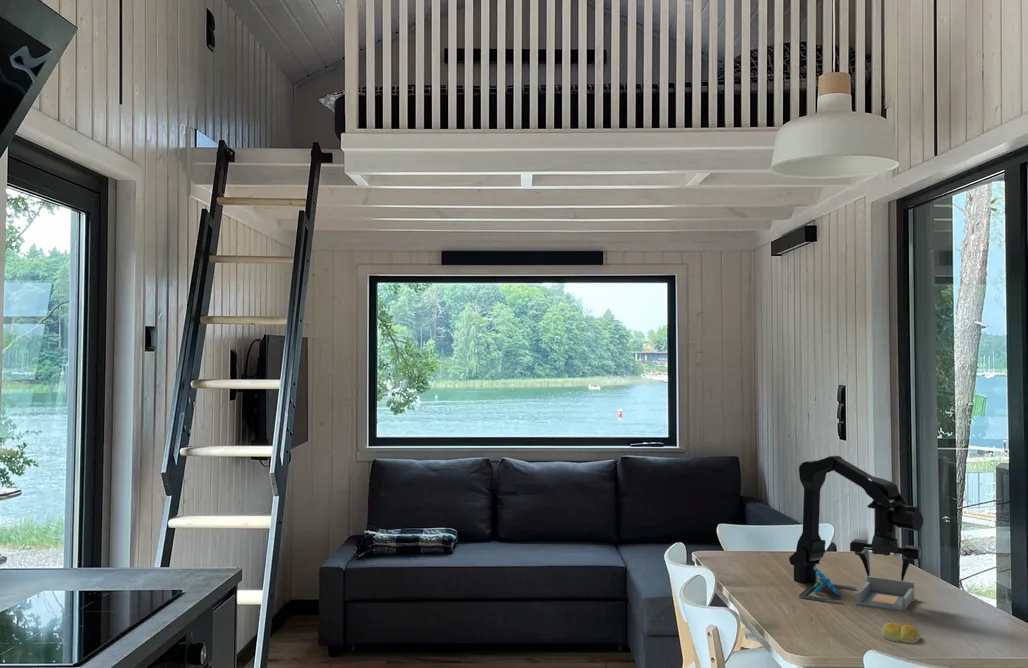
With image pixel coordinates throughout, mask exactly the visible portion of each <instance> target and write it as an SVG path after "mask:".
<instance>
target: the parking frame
mask: <svg viewBox="0 0 1028 668" xmlns="http://www.w3.org/2000/svg"><path fill="white" fill-rule="evenodd" d="M816 583H817V581H815V582H813V583H812V584H811V583H810V584H809V586H808V587H807V588H805V589H804V590H803V591H802V592H801V593H799V595H798V598H799V599H805V600H812V601H818V602H822V603H823V602H825V603H831V604H839V605H844V602H845V601H844V600H839V599H832V598H828V597H827V598H825V597H821V596H812V595H808V594H809V593H810V592H812V591H813V590H814V589H815V587H814V585H815V584H816ZM832 584H833V586H834V587H835V588H836V589H837V588H838V589H843V590H849V591H857V586H850V585H844V584H843V585H842V584H836V583H832ZM819 585H821V583H820V584H819ZM819 585H818V586H819ZM826 587H828V585H827V586H826Z"/></svg>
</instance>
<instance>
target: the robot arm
mask: <svg viewBox="0 0 1028 668" xmlns="http://www.w3.org/2000/svg"><path fill="white" fill-rule="evenodd" d="M831 472H835V473H836V474H837V475H838V474H839V475H840V476H842V477H843V478H845V479H847V480H849V481H851V483H854V484H855V485H857V486H858V487H860V488H862V490H864V492H865V494H866V495H867V496H868V497H870V498H871V499H872V501H871V503H869V504H868V505H866V506H867V508H868V509H873V510H874V511H873V512H874V515H873V516H874V519H873V520H874V523H873V524H874V527H873V528H874V532H873V537H872V541H871V543H868V540H867V539H858V538H854V539H853V540H852V541H851V542H850V543H849V551H850V552H853V553H854V554H855V555H857V556H858V557H859V558H860V560H861V562H862V564H863V566H864V570H865V573H866V575H867V576H871V565H870V554H869V551H871V553H872V554H873V555H882V556H890V555H891V554H898V555H903V556H904V557H903V558H902V565H901V573H900V575H901V576H900V580H901V581H905V577H906V574H907V571H908V569H909V566H910V564H911V563H913V562H915V561H916V560H919V559H920V558H921V557H922V548H921V547H920V546H918V545H911V544H910V545H909V544H906V545H905V546H904V547H900V546H899V541H898V538H896V537H897V535H896V534H897V533H896V532H897V529H896V528H898V529H904V530H911V531H915V532H919V531H921V529H922V527H923V525H924V517H923V514H922V512H921V511H920V509H919V506H914V505H913V506H911V505H908V504H907V502H906V501H905V499H904V497H903V496H902V495H901V493H900V492H899V487H898V485H897V484H896V483H894V481H893V482H892V481H891V480H887V479H884V478H881V477H876V476H873V475H871V474H869V473H868V472H866V471H864V470H862V469H860V468H859V467H857V466H856V465H855V464H852V463H851V462H849V461H847V460H845V459H844V458H843V457H841V456H840V455H829V456H826V457H825V458H822V459H818V460H810V461H809V460H807V461H804V462H802V463H801V464H799V466H798V474H799V475H798V476H799V481H800V483H801V485H802V487H803V507H802V508H803V509H802V510H803V512H802V533H801V535H800V537H799V539H797V540H798V541H797V543H796V550H795V552H794V553H793V554H791V556H790V557H788V561H789V563H790V565H791V566H793V582H797V583H800V584H807V585H811V584H812V583H813V582H815V581H817V582H818V581H819V580H818V579H819V578H818V577H819V575H818V574H817V573H816V572H815V571H814V569H815V568H817V565H819V564H820V561H821V559H822V558H823V557H824V554H825V553H826V552H827V551H826V539H822V538H821V535H820V533H819V531H820V508H821V506H820V504H821V502H820V501H821V489H822V487H823V486H824V483H825V481H826V478H827V477H826V476H827V473H831ZM867 576H866V577H867Z"/></svg>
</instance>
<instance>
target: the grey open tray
mask: <svg viewBox="0 0 1028 668" xmlns="http://www.w3.org/2000/svg"><path fill="white" fill-rule="evenodd" d="M856 597H857V600H856V602H855V606H858V607H865V608H873V609H882V610H890V611H896V612H897V611H898V612H906V610H907V609H908V608H909V606H910V605H911V602H912V600H913V599H914V597H915V582H914V581H908V580H903V581H901V579H900V580H899V579H895V578H893V579H892V578H885V577H878V576H877V577H876V576H871V575H870V576H866V582H865V583H864V584H863V586H862V587H860V588H859V590H858V591H857V592H856ZM914 600H915V599H914ZM914 600H913V601H914ZM912 603H913V602H912Z"/></svg>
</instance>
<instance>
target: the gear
mask: <svg viewBox="0 0 1028 668" xmlns="http://www.w3.org/2000/svg"><path fill="white" fill-rule="evenodd" d="M814 571H815V572H816V573H817V574H818V577H819V578H818V582H817V583H816V584H815V585H814V589H813V592H814V593H815V594H817V593H818V592H820V591H821V590H822V588H826V587H828V588H829V589H831V591H833V593H834V594H835V595H837V596H840V595H841V593H840V592H839V590H838V589H837V588H835V587H834V586H833V584H834V583H832V582H831V579H830V578H829V577H826V575H825V574H824V573H822V572H821V571H820V570H819V569H818V568H817V567H816V568H815V569H814ZM820 583H821V585H819V584H820ZM827 585H828V586H827Z"/></svg>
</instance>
